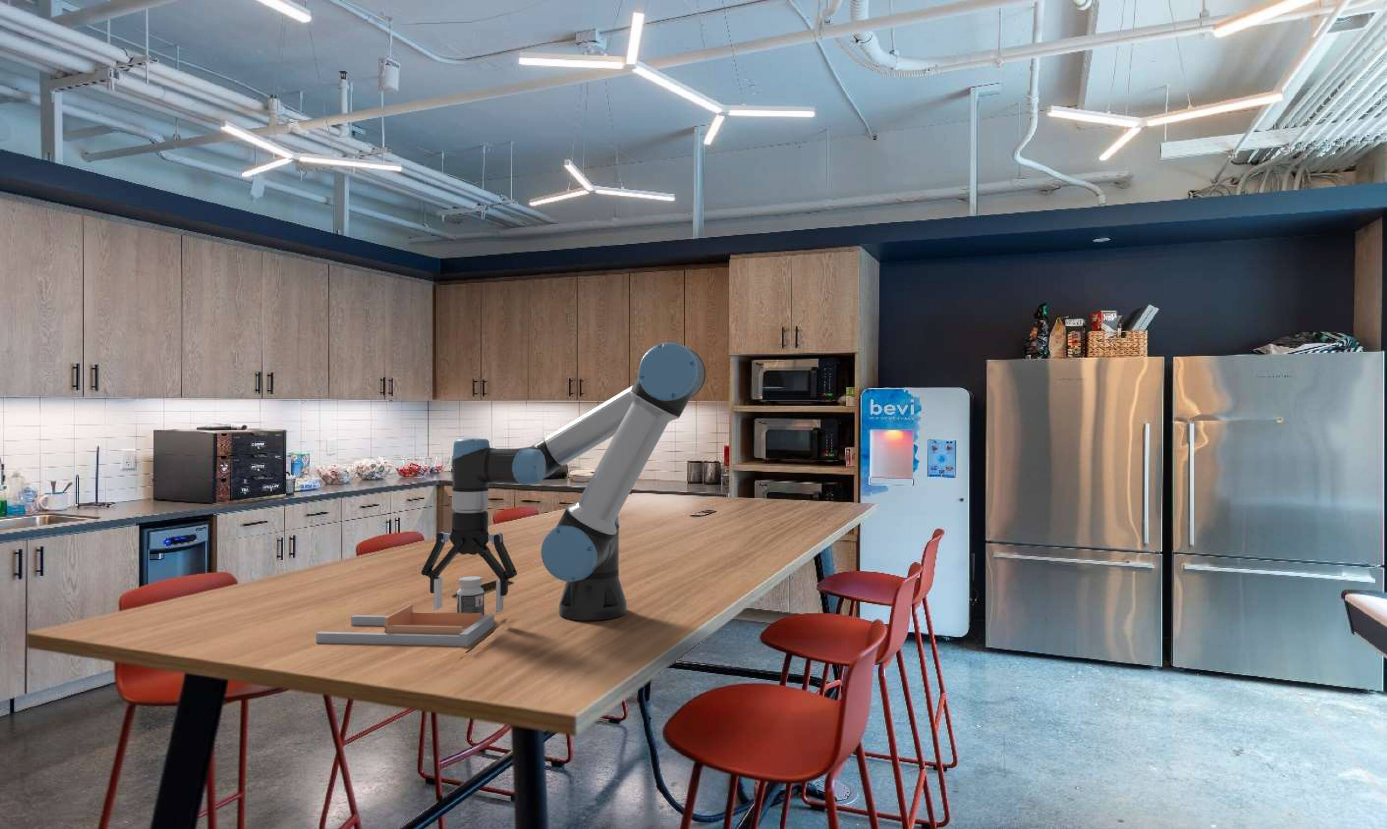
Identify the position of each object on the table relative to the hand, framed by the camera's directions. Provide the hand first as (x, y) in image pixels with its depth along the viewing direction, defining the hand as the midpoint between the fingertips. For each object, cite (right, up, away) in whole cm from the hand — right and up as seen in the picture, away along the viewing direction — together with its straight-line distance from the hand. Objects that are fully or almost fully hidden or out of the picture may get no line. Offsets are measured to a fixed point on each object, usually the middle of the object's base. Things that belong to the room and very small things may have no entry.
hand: (468, 609), depth 175 cm
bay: (-9, -3, -12) cm, 15 cm away
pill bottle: (0, -3, 0) cm, 3 cm away
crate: (-3, -2, -13) cm, 13 cm away
